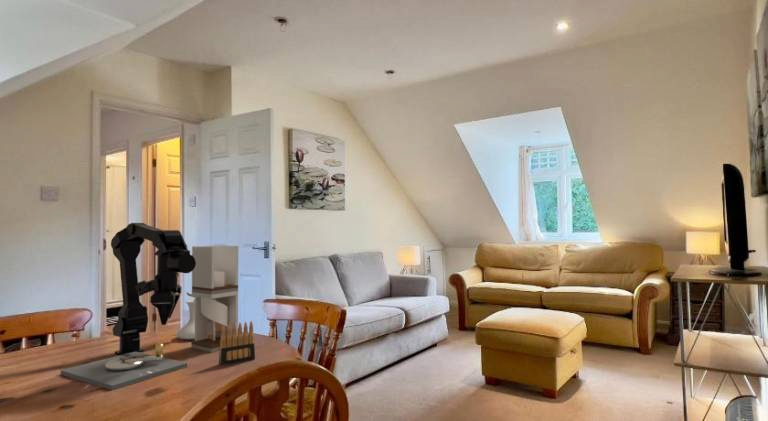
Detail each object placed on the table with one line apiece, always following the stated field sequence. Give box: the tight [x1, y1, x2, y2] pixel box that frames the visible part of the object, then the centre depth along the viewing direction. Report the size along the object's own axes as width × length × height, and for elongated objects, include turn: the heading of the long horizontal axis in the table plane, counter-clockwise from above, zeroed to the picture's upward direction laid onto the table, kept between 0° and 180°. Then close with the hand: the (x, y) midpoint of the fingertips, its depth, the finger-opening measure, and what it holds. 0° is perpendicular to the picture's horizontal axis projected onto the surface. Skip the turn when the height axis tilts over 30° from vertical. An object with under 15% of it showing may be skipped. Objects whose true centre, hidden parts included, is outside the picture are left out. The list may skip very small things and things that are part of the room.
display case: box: [191, 244, 239, 353], centre depth 160 cm, size 11×11×35 cm
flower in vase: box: [175, 292, 195, 340], centre depth 172 cm, size 13×11×25 cm
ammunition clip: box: [218, 320, 256, 366], centre depth 141 cm, size 11×2×12 cm, turn 127°
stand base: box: [60, 352, 188, 391], centre depth 133 cm, size 26×22×1 cm
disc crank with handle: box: [105, 342, 164, 371], centre depth 133 cm, size 15×10×6 cm, turn 105°
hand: (166, 321), depth 140 cm, fingers open, 9 cm apart
